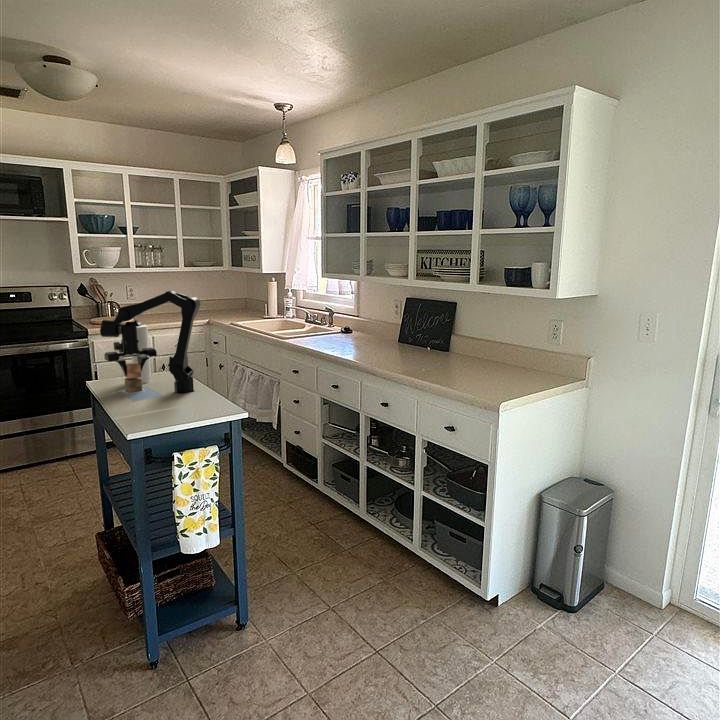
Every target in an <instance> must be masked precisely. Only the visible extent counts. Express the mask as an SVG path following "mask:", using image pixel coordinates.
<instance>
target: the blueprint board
mask: <svg viewBox="0 0 720 720" xmlns="http://www.w3.org/2000/svg"><path fill="white" fill-rule="evenodd" d="M118 392H119V393H120V394H121V395H124V396H125V397H126V398H128V399H129V400H131V401H133V402H136V401H142V400H149V399H155V398H161V397H165V396H166V395H165V394H163V393H161V392H159V391H158V390H155V389H154V388H152V387H150V386H148V385H147V386H145V385H144V386H142V391H139V392H133V393H129V392H127V391H126V390H125V389H120V390H118Z"/></svg>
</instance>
